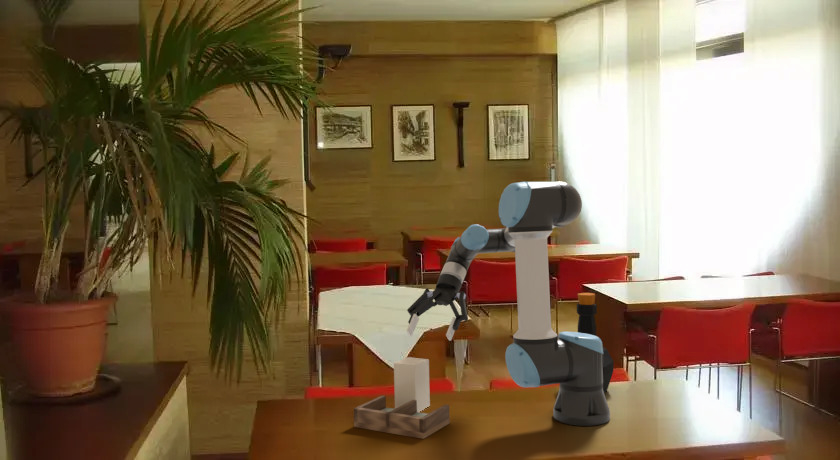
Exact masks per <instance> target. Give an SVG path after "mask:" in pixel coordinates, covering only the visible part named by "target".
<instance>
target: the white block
mask: <svg viewBox="0 0 840 460" xmlns="http://www.w3.org/2000/svg"><path fill="white" fill-rule="evenodd" d="M393 374H394V375H393V382H394V385H393V386H394V389H393V390H394V409H396V408H398V407H400V406H402V405H404V404H406V403H408V402H410V401H412V400H417V412H419V413H421V412H423V411H425V410H426V409H425V408H427V407H429V406H430V407H431V398H430V397H431V396H430V392H431V391H430V390H431V389H430V360H429V359H428V358H420V357H419V358H418V357H413V356H412V357H411V356H407V357H405V358H403V359H400V360H397V361H395V362H393ZM430 407H429V408H430ZM424 409H425V410H424ZM427 409H428V408H427ZM422 410H423V411H422ZM420 411H421V412H420Z"/></svg>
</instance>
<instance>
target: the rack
mask: <svg viewBox="0 0 840 460" xmlns="http://www.w3.org/2000/svg"><path fill="white" fill-rule="evenodd" d="M386 401H387V398H386V395H380V396H378V397H376V398H374V399H372V400H369V401H367V402H365V403H363V404H360V405H358V406H356V407H354V408H353V427H354V428H358V429H363V430H370V431H375V432H376V431H377V432H381V433H386V434H387V433H388V434H393V435H394V434H395V435H400V436H404V437H405V436H406V437H410V438H418V439H422V440H424V439H426V438H427V437H429V436H431V435H432V434H434V433H436V432H437V431H439V430H441V429H442V428H444V427H446V426H447V425H449V424H450V423H451V421H450V405H449V404H446V403H445V404H443V405H441V406H440V407H438V408H436V409H434V410H432V411H431V412H429V413H425V412H417V400H412V401H410V402H408V403H406V404H404V405H402V406H400V407H398V408H396V409H395V408H391V407H387V402H386Z"/></svg>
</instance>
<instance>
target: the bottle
mask: <svg viewBox="0 0 840 460" xmlns="http://www.w3.org/2000/svg"><path fill="white" fill-rule="evenodd" d="M577 300H578V303H576V314H577V315H578V322H577V332H578V333H585V334H590V335H594V336H597V323H596V317H595V315H597V314H598V313H597V309H598V307H597V306H598V305H597V303H595V301H596V294H595V293H593V292H581V293H577ZM602 347H603V392H604V393H605V392H607V391H608V390H609V386H610V382H611V379H612V377H613V373H614V363H615V361H614V360H613V358H612V357H611V354H610V353H609V351H608V349H607V348H606V347H604V346H602Z"/></svg>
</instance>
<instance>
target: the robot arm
mask: <svg viewBox="0 0 840 460" xmlns="http://www.w3.org/2000/svg"><path fill="white" fill-rule="evenodd" d="M582 209H583V201H582V196H581V194H580V193H579V191H578V190H577V189H576V188H575V187H574V186H573V185H571V184H570V183H568V182H565V181H558V180H557V181H556V180H555V181H554V180H553V181H520V182H512V183H510V184H508V185H507V186H505V188H504V189H503V192H502V193H501V196H500V199H499V203H498V216H499V217H498V218H499V219H500V223H501V225H503V228H487V229H486V228H485V226H483V225H480V224H477V223H476V224H471V225H469V226H468V227H467V228H466V229H465V230H464V231H463V232H462V234H461V236H458V237H457V238H455V240H454V242H453V243H452V245H451V247H450V251H449V253H448V256H447V259H446V261H445V263H444V265H443V267H442V270H441V272H440V275H439V277H438V280H437V282H436V286H435V289H433V290H430V289H429V288H425V290H424V291H423V293H422V294H421V295H420V296H419V297H418V299H416V300H415V301H414V302H413V303H412V305H410V306H409V307H408V308H407V309H406V311H407V313H408V314H409V316H410V317H409V319H408V322H407V324H408V327H407V328H406V333H407V334H408V335H409V337H412V336H413V335H414V332H415V330H416V327H417V325H418V322H419V320H420V318H419V317H420V316H421V315H422V314H424V313H426V312H427V311H429V310H430V309H431V308H433V307H437V305H438V306H445V307H447V306H450V308H451V310H452V312H453V314H454V316H455V317H452V319H451V321H450V323H449V325H448V329H447V331H446V333H445V336H446V337H447V339H448V341H450V342H451V341H452V340H453V336H454V334H455V331H458V330H459V328H460V324H461V323H462V322H463V321H465V322H467V321H468V320H469V317H468V316H469V315H468V310H467V304H466V301H467V300H466V299H467V294H466V293H465V292H464V291H463V290H461V288H462V285H463V282H464V281H465V278H466V275H467V272H468V269H469V267H470V265H471V263H472V261H473V260H474V259H475V258H476V257H477V255H478V254H492V253H506V252H507V253H511V252H512V253H514V254H515V255H514V257H515V258H514V259H515V260H514V261H515V275H516V276H515V278H516V279H515V281H516V298H517V299H516V302H517V319H518V321H517V322H518V325H517V326H518V329H517V331H516V332H515V333H514V334H513V336H512V338H513V339H512V340H513V342H512V343H511V344H509V345H508V346H507V347H506V351H505V354H504V355H505V356H504V357H505V363H506V364H505V365H506V367H507V371H508V373H509V376H510V377H511V379H512V380H513V382H514V383H515V384H516V385H518V386H519V387H521V388H538V387H543V386H544V387H545V386H549V385H550V386H551V385H558V384H559V390H558V394H557V396H556V399H555V402H554V405H553V419H554V420H556V421H557V422H558V423H559V422H560V423H562V424H566V425H570V426H578V427H580V426H582V427H583V426H585V427H590V426H600V425H603V424H605V423H608V422H610V419H611V411H610V407H609V404H608V401H607V398H606V395H605V392H603V347H604V346H603V341H602V339H601V338H600V337H599V336H597V335H596V336H594V335H590V334H585V333H578V331H577V332H576V331H560V332H559V333H556V332H555V331H554V330H553V328H552V315H551V313H552V312H551V298H550V296H551V295H550V291H551V290H550V272H549V270H550V269H549V252H548V251H549V250H548V247H549V246H548V238H549V236H550V235H551V234H552V233H553V231H554V230H553V229H555V228H564V227H566V226H567V225H569V224H571V223H573V222H574V221H575V220H576V219H577V218H579V216H580V214H581V213H582ZM457 299H458V300H459V305H460V311H461V313H460V312H459V311H458V309H457V307H456V305H455V302H454V301H456V300H457Z"/></svg>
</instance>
